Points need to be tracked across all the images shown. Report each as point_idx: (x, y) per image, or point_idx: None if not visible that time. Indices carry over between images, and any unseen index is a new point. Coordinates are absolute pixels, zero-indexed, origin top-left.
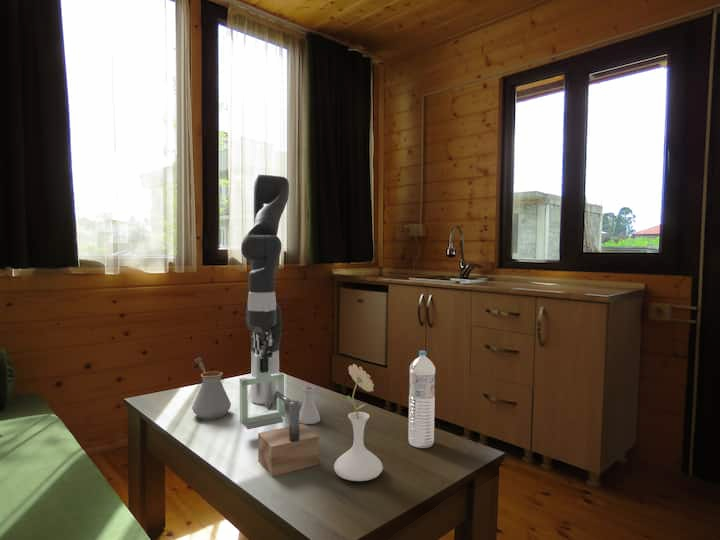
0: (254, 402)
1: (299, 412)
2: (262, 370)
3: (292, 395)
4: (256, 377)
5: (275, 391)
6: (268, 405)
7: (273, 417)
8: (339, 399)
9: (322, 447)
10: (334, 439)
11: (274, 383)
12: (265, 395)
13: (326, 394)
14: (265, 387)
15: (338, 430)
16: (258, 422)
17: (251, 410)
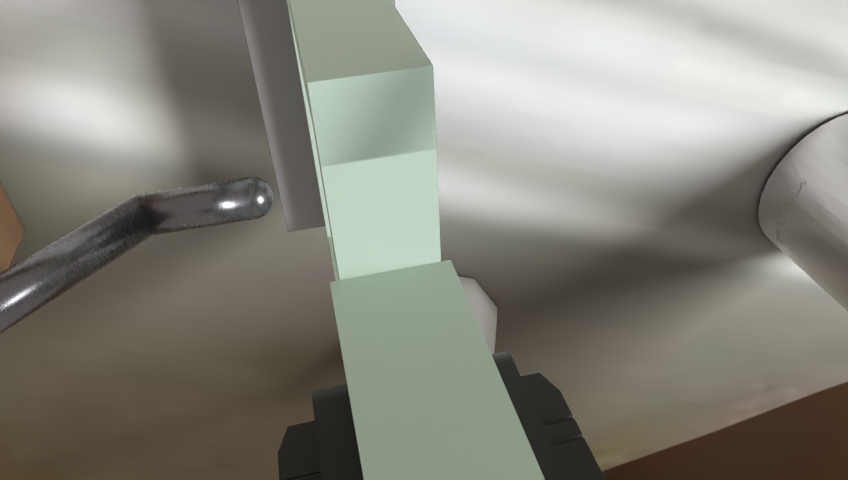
0: (835, 121)
1: (474, 311)
2: (296, 429)
3: (781, 307)
4: (338, 287)
5: (800, 261)
6: (114, 212)
7: (317, 183)
8: (596, 453)
9: (49, 317)
10: (143, 376)
11: (837, 288)
12: (808, 200)
13: (683, 422)
14: (845, 229)
15: (250, 404)
16: (278, 67)
17: (749, 80)
